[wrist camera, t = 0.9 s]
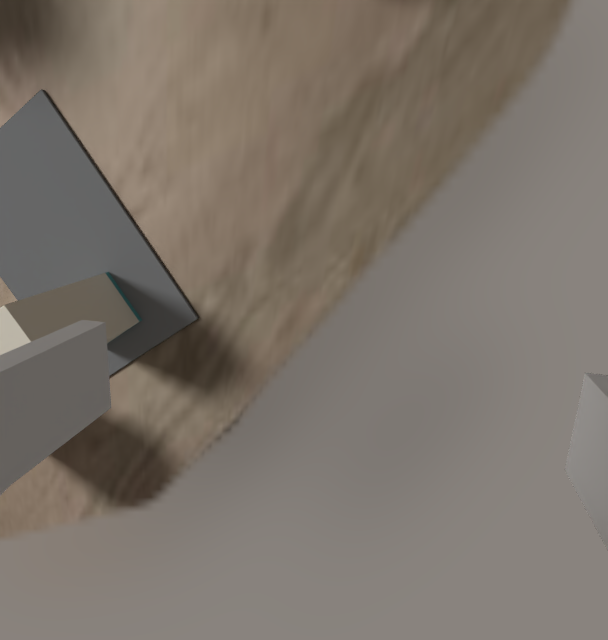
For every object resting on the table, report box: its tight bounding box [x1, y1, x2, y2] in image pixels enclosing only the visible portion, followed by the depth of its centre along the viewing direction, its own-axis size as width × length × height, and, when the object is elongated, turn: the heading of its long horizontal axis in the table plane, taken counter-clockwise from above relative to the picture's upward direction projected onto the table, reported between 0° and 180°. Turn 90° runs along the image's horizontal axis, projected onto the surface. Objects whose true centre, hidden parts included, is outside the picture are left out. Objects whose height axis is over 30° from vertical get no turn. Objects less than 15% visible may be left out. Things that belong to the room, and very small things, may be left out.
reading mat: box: [0, 90, 199, 376], centre depth 44 cm, size 22×14×1 cm, turn 33°
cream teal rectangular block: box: [0, 272, 142, 355], centre depth 39 cm, size 5×5×12 cm
